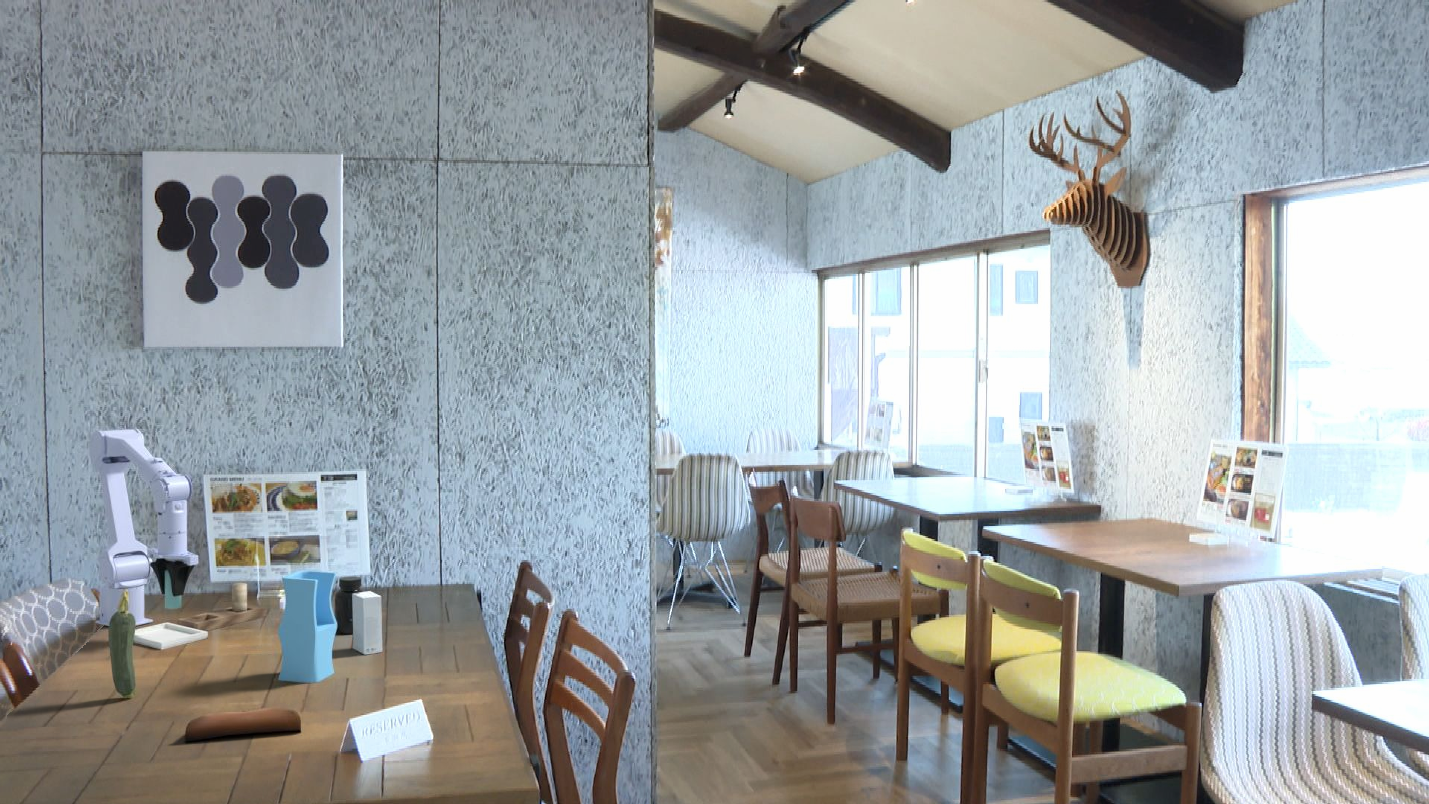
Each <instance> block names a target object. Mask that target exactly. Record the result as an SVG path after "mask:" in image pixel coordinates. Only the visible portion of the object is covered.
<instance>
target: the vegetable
mask: <svg viewBox="0 0 1429 804" xmlns="http://www.w3.org/2000/svg"><path fill="white" fill-rule="evenodd" d="M128 608H129V594H128V590H126V589H124V592H123V593H122V595H121V599H120V601H119V604H118V607H117V609H118V612H116V613H115V614H114V615H113V616H112V617H111V619H110V623H109V626H108V646H109V655H110V664H111V666H110V667H111V674H112V680H113V681H112V682H113V686H114V688H115V691H116V692H117V694H120V695H121V696H122V698H123V699H125V700H126V699H129V698H130V699H132V698H133V695H135V694H136V689H135V688H136V673H135V672H136V671H135V665H134V659H133V657H134V656H133V648H134V643H133V640H134V635H135V630H136V621H135V618H134V616H133V615H132V614H131V613H130V612H129V611H127V610H128Z"/></svg>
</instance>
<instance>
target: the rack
mask: <svg viewBox="0 0 1429 804" xmlns="http://www.w3.org/2000/svg"><path fill="white" fill-rule="evenodd" d="M266 616H267V608H266V607H262V606H257V605H254V604H248V603H247V611H244V612H239V613H236V612H232V606H231V607H227V608H223V609H222V608H221V609H218V610H213V611H209V612H204V613H200V614H195V615H191V616H186V617H181V618H178V619H177V625H181V626H185V627H189V628H194V629H198V630H202V631H207V632H208V631H211V630H214V629H219V628H223V627H227V626H231V625H237V624H240V623H244V622H249V621H252V620H256V619H260V618H266Z"/></svg>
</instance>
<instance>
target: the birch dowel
mask: <svg viewBox="0 0 1429 804" xmlns="http://www.w3.org/2000/svg"><path fill="white" fill-rule="evenodd" d="M247 604H248V583H246V582H236V583H232V584H231V607H232V612H236V613H239V612H244V611H247Z"/></svg>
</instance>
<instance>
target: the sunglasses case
mask: <svg viewBox="0 0 1429 804" xmlns="http://www.w3.org/2000/svg"><path fill="white" fill-rule="evenodd" d="M301 723H302V719H301V717H300V714H299V713H298V711H296V710H294V709H290V708H285V707H264V708H259V709H255V710H249V709H248V710H247V709H246V710H245V709H244V710H242V711H218V712H211V713H208V714H204V715H202V716H199V717H196V718H194V719H191V720H190V721H189V722H188V724H187V725H186V728H185V732H184V733H185V734H184V743H188V742H193V741H200V740H205V739H212V738H215V737H216V738H219V737H224V736H229V735H231V736H232V735H234V736H235V735H248V734H249V735H250V734H256V733H261V734H262V733H272V732H273V733H274V732H283V731H284V732H287V731H298V732H300V733H302V724H301Z"/></svg>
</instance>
